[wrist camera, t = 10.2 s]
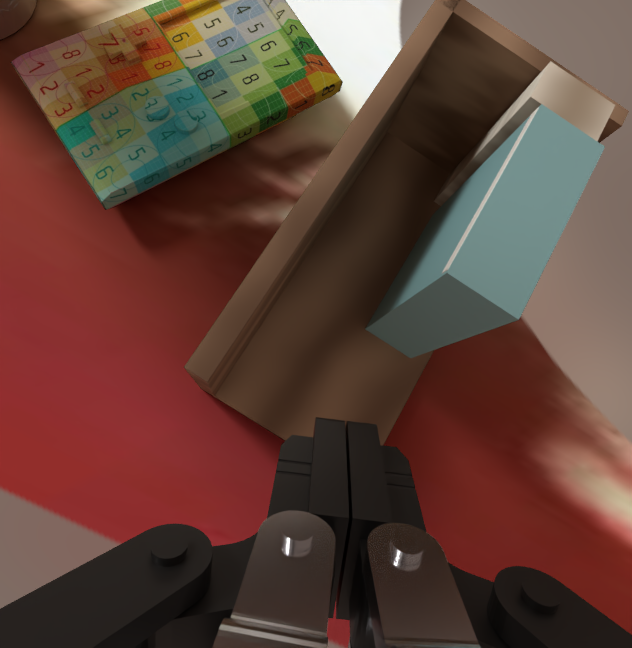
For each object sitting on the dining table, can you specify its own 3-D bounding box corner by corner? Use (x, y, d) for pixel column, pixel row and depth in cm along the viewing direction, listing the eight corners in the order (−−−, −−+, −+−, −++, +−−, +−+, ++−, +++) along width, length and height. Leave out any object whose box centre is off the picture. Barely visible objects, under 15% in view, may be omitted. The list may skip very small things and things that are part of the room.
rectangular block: (364, 328, 36) (446, 272, 23) (432, 214, 39) (540, 103, 25) (410, 358, 36) (519, 320, 23) (475, 242, 39) (605, 147, 26)
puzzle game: (4, 51, 33) (259, -49, 38) (32, 97, 37) (256, 2, 42) (97, 195, 32) (345, 73, 37) (113, 224, 36) (332, 112, 41)
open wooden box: (200, 388, 35) (181, 364, 21) (376, 123, 41) (452, -29, 27) (355, 484, 35) (439, 524, 21) (504, 208, 42) (642, 100, 28)
